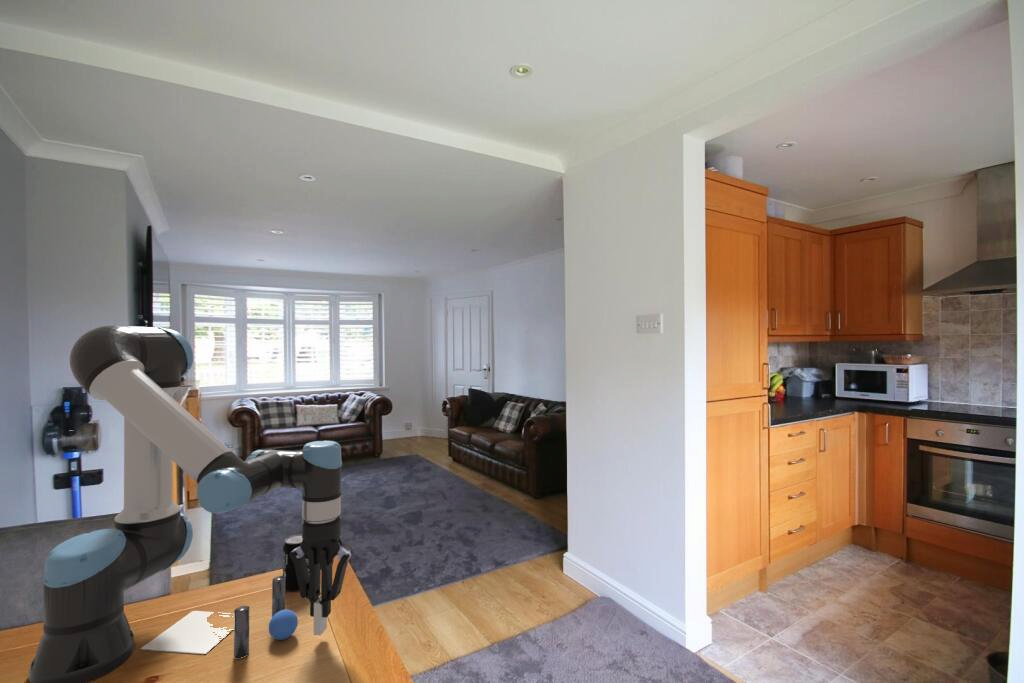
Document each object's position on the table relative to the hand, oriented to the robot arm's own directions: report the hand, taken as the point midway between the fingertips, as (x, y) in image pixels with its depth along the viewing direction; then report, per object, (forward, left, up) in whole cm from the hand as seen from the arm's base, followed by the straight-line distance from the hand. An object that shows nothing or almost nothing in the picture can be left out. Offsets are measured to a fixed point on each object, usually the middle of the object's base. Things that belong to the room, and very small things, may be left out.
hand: (320, 631), depth 101 cm
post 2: (-13, +6, -2) cm, 15 cm away
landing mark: (-27, 0, -2) cm, 27 cm away
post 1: (-13, -6, -2) cm, 15 cm away
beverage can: (-17, +21, -2) cm, 27 cm away
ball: (-8, 0, +1) cm, 8 cm away
